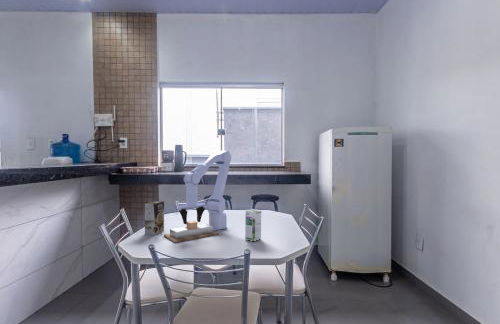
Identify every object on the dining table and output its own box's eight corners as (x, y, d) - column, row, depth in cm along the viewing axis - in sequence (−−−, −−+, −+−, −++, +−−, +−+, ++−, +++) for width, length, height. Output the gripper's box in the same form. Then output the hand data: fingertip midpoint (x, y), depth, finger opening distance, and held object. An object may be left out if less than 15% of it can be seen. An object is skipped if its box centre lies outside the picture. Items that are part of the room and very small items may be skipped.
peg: (193, 232, 144) (193, 220, 144) (197, 233, 141) (197, 222, 141) (186, 233, 142) (186, 221, 142) (190, 235, 139) (190, 223, 139)
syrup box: (244, 240, 134) (244, 210, 134) (252, 237, 139) (252, 208, 139) (253, 242, 131) (253, 211, 130) (261, 239, 135) (261, 209, 135)
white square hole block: (205, 229, 151) (205, 223, 151) (212, 231, 145) (212, 226, 145) (170, 235, 139) (170, 229, 139) (176, 238, 133) (176, 232, 133)
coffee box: (155, 235, 142) (155, 203, 142) (144, 234, 143) (144, 203, 143) (164, 230, 151) (164, 201, 151) (153, 230, 152) (153, 200, 152)
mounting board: (205, 229, 155) (205, 227, 155) (219, 234, 144) (219, 232, 144) (163, 236, 140) (163, 234, 140) (175, 243, 129) (175, 240, 129)
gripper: (181, 198, 134) (182, 226, 134) (208, 195, 143) (208, 222, 143) (175, 196, 140) (176, 223, 140) (201, 194, 149) (201, 219, 149)
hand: (191, 222), depth 142 cm, fingers open, 7 cm apart
